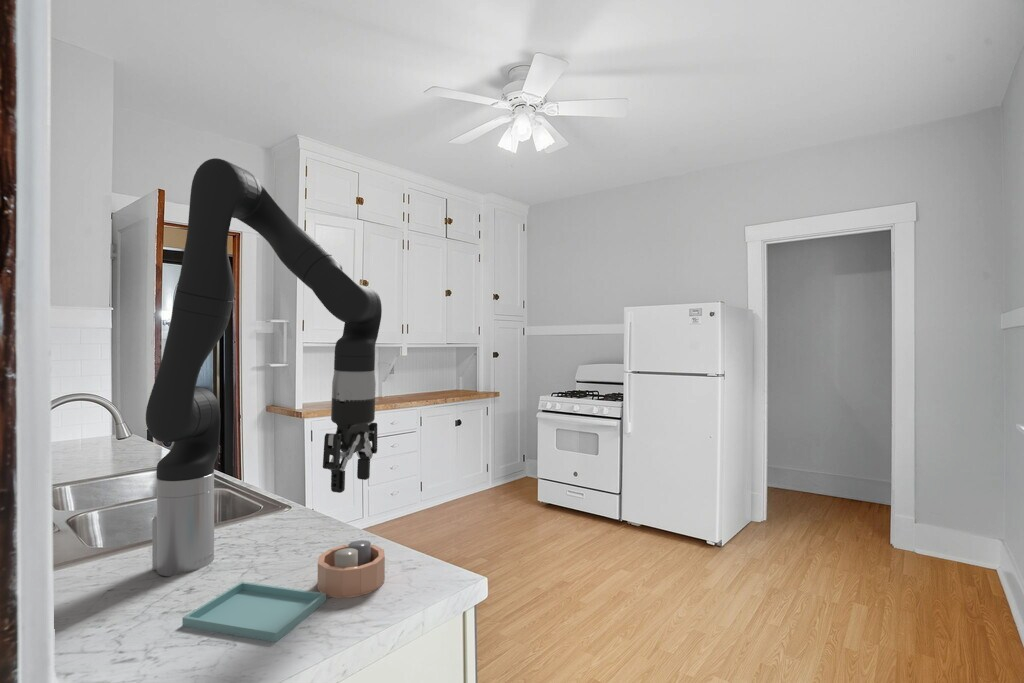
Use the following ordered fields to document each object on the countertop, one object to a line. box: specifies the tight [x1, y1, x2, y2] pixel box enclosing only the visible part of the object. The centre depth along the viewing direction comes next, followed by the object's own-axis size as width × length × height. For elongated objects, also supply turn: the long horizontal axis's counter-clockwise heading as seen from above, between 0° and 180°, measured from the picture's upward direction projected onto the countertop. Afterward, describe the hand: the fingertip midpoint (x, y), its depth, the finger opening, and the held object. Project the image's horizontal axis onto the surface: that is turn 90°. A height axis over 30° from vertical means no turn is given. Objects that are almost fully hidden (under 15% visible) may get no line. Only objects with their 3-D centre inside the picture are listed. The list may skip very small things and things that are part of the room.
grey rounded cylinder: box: [347, 539, 372, 566], centre depth 96 cm, size 4×4×6 cm
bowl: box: [317, 544, 386, 599], centre depth 94 cm, size 11×11×5 cm
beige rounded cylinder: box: [335, 548, 358, 568], centre depth 92 cm, size 4×4×6 cm
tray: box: [182, 581, 327, 643], centre depth 84 cm, size 16×12×2 cm
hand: (351, 485), depth 98 cm, fingers open, 8 cm apart
